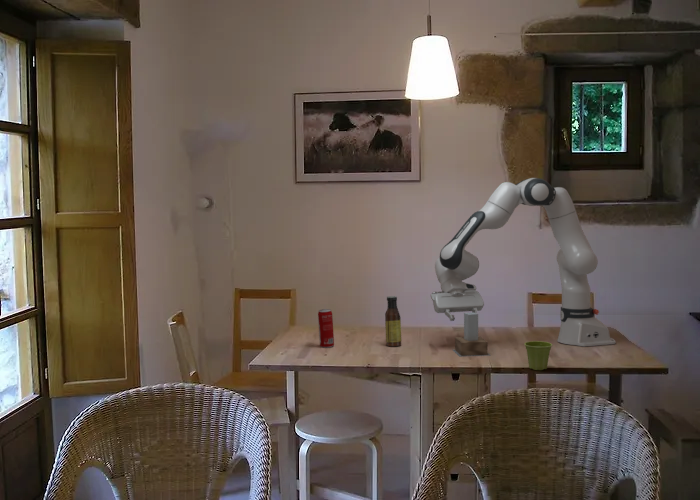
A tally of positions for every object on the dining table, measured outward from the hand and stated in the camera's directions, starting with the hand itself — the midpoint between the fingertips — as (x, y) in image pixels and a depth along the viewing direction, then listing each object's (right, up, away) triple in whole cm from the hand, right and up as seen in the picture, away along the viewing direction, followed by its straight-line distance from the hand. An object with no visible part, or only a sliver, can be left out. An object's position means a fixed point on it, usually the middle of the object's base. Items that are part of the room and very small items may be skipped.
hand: (463, 319), depth 285 cm
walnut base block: (+2, -12, -5) cm, 13 cm away
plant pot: (+21, -15, -29) cm, 39 cm away
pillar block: (+2, -7, -5) cm, 9 cm away
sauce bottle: (-27, -12, +11) cm, 31 cm away
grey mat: (+2, -13, -5) cm, 14 cm away
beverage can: (-54, -12, +11) cm, 56 cm away
